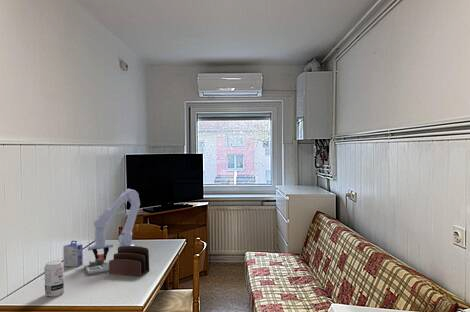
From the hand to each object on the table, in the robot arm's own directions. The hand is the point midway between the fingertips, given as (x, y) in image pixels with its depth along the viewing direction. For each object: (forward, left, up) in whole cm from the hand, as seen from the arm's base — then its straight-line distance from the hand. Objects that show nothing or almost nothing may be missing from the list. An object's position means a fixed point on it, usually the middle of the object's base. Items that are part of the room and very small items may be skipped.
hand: (100, 260), depth 238 cm
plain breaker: (+3, +7, 0) cm, 7 cm away
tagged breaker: (+7, +11, 0) cm, 13 cm away
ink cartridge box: (+15, -4, -2) cm, 16 cm away
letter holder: (-10, +28, -2) cm, 30 cm away
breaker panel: (+4, +13, -2) cm, 14 cm away
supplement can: (+29, +43, -2) cm, 52 cm away
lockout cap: (0, 0, -1) cm, 1 cm away
